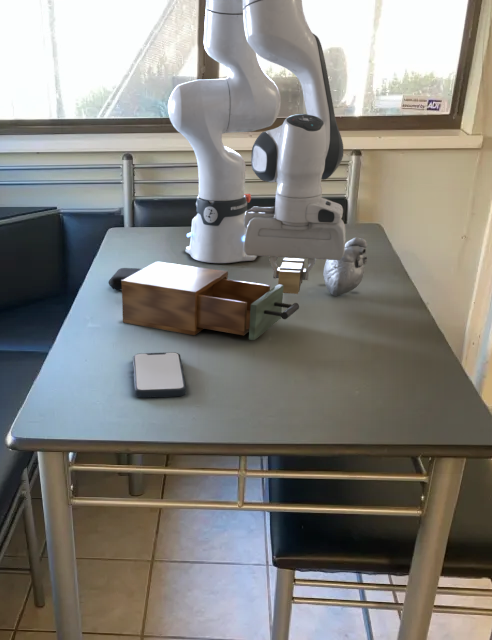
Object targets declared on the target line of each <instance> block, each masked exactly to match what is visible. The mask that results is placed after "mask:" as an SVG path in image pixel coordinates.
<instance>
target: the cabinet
mask: <svg viewBox="0 0 492 640" xmlns="http://www.w3.org/2000/svg"><path fill="white" fill-rule="evenodd" d="M141 269H142V270H140V271H138V272H136V273H135V274H133V275H131V276H129V277H127V278H125V279H123V280H122V281H121V283H122V290H121V304H122V308H121V309H122V323H124V324H130V325H136V326H141V327H145V328H153V329H157V330H163V331H168V332H174V333H180V334H185V335H190V336H196V335H197V334H199V333H200V332H202V331H203V330H204V328H199V327H197V295H198V294H199V293H201V292H203V291H204V290H206V289H207V288H209V287H210V286H212V285H213V284H215V283H217V282H218V281H220V280H221V279H223V278H224V279H229V278H228V277H229V276H228V275H229V271H227V270H222V269H221V270H219V269H214V268H207V267H199V266H193V265H185V264H179V263H178V264H177V263H171V262H164V261H157V260H156V261H155V262H153V263H151V264H149V265H147V266H146V267H144V268H141Z"/></svg>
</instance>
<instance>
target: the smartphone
mask: <svg viewBox="0 0 492 640" xmlns="http://www.w3.org/2000/svg"><path fill="white" fill-rule="evenodd" d="M132 373H133V384H134V395H135V397H138V398H140V399H141V398H142V399H143V398H144V399H145V398H166V397H167V398H169V397H182V396H185V395H186V392H187V386H186V381H185V376H184V368H183V364H182V357H181V354H180V353H179V352H176V351H170V352H169V351H168V352H144V353H142V352H141V353H135V354H134V355H132Z"/></svg>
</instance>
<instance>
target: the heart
mask: <svg viewBox="0 0 492 640" xmlns="http://www.w3.org/2000/svg"><path fill="white" fill-rule="evenodd" d="M367 248H368V242H367V241H366V239H365V238H359V237H353V238H352V239H350V240H348V241H346V242H345V252H344V256H343V257H342V258H341V259H340V260H325V264H324V267H323V273H322V274H323V280H324V284H325V287H326V289H327V291H328V293H330V294H331V295H332V296H336V297H337V296H341V295H344V294H347V293H349V292H351V291H354V289H355V290H356V288H357V287H359V285H360V283H361V282H362V281H363V279H364V274H365V266H364V265H366V264H367V262H368V256H366V254H367V250H366V249H367Z"/></svg>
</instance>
